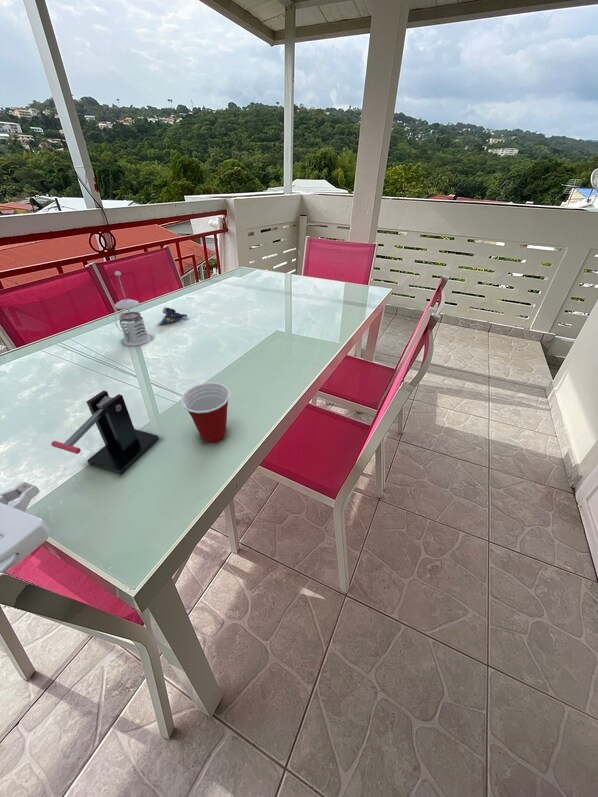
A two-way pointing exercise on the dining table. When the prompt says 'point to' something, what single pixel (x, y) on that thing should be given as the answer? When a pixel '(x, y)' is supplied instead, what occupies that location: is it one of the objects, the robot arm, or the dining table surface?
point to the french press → (131, 336)
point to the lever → (82, 429)
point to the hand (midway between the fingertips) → (32, 486)
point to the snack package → (171, 315)
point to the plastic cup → (208, 409)
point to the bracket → (118, 436)
